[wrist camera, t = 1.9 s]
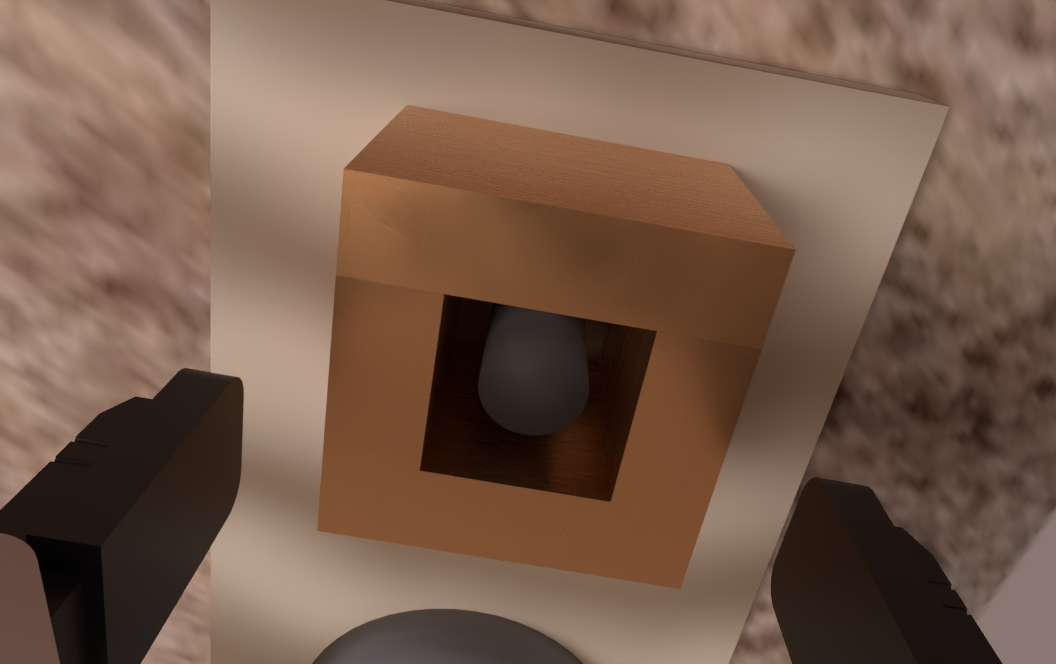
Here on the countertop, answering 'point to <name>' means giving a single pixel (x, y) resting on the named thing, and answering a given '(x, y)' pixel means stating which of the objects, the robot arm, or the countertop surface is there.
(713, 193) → the hollow wooden cube
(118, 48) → the countertop surface
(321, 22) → the board
